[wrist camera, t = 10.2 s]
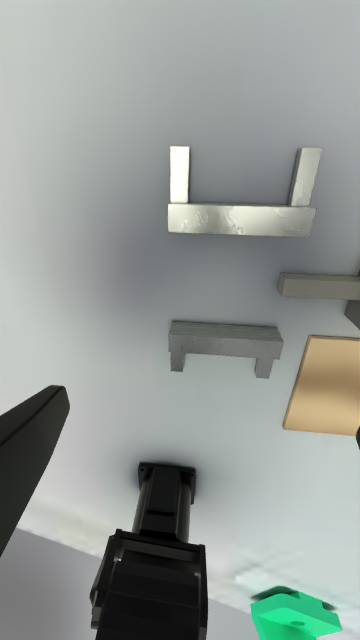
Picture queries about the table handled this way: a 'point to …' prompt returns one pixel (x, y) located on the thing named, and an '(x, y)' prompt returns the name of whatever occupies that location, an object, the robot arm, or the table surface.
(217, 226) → the pair of grey brackets
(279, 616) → the camera mount
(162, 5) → the table surface
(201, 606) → the robot arm
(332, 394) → the pad
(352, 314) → the plug
